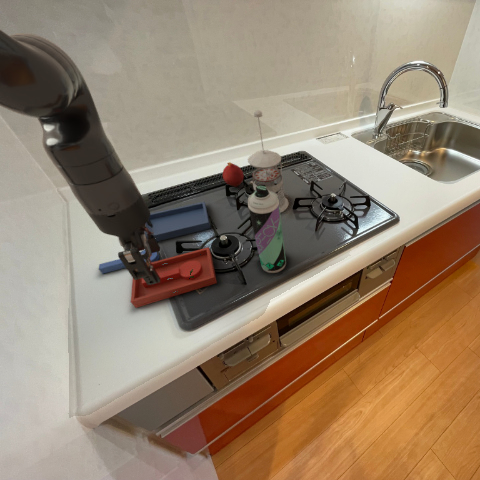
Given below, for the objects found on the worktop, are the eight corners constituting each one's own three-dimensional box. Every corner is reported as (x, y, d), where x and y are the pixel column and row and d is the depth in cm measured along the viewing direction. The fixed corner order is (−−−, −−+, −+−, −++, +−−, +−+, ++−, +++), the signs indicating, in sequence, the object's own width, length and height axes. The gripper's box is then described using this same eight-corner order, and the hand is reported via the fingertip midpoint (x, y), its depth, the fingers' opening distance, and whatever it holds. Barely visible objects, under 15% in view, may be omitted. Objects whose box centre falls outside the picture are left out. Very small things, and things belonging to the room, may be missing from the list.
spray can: (258, 258, 61) (241, 182, 47) (281, 251, 63) (271, 176, 49) (265, 276, 58) (248, 199, 44) (289, 268, 59) (281, 192, 45)
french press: (246, 210, 74) (224, 115, 56) (266, 187, 81) (253, 98, 64) (279, 218, 71) (266, 121, 54) (296, 194, 79) (291, 103, 61)
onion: (236, 179, 85) (231, 155, 79) (249, 185, 82) (244, 161, 77) (222, 187, 81) (215, 163, 76) (235, 194, 79) (228, 169, 73)
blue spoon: (101, 278, 57) (97, 274, 56) (104, 264, 60) (100, 259, 59) (159, 263, 60) (156, 258, 59) (159, 249, 63) (156, 245, 62)
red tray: (135, 307, 52) (130, 302, 51) (137, 273, 58) (133, 267, 57) (216, 283, 56) (214, 277, 55) (211, 253, 62) (208, 247, 61)
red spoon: (144, 293, 54) (141, 289, 53) (145, 277, 57) (141, 272, 55) (203, 276, 57) (201, 271, 56) (201, 261, 60) (199, 256, 59)
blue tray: (144, 244, 64) (140, 238, 63) (145, 221, 70) (142, 215, 69) (210, 228, 68) (208, 222, 67) (206, 207, 74) (204, 201, 73)
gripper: (91, 179, 45) (135, 247, 56) (73, 233, 36) (131, 301, 47) (141, 171, 47) (174, 237, 59) (136, 219, 38) (177, 288, 49)
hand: (154, 266), depth 53 cm, fingers open, 8 cm apart
